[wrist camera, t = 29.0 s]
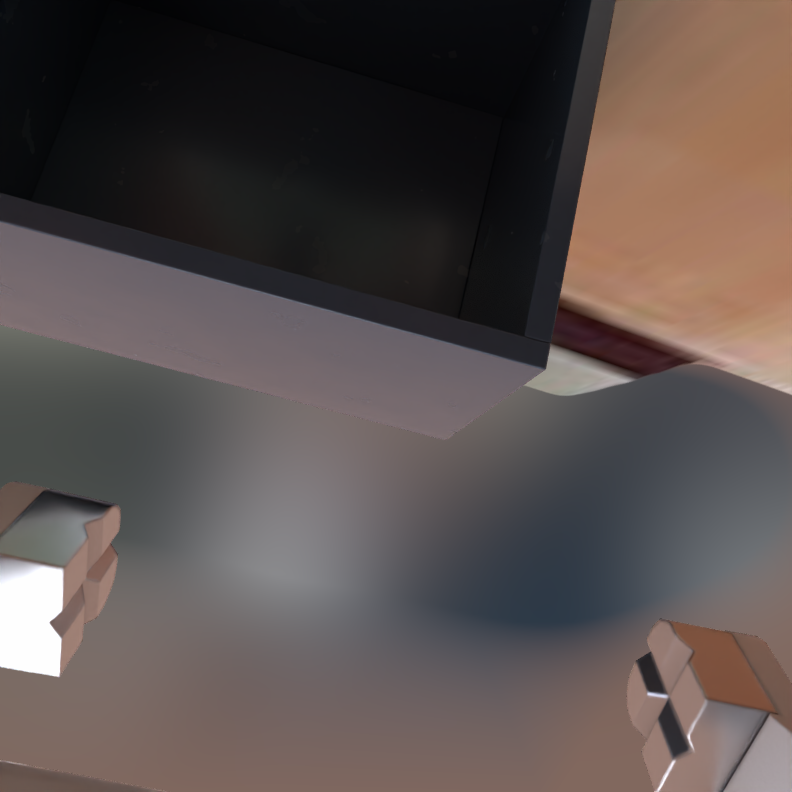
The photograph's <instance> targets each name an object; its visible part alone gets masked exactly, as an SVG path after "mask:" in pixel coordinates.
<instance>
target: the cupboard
mask: <svg viewBox="0 0 792 792" xmlns="http://www.w3.org/2000/svg"><path fill="white" fill-rule="evenodd" d="M615 2H616V0H0V325H3V326H7V327H11V328H15V329H18V330H22V331H26V332H30V333H34V334H38V335H41V336H46V337H49V338H53V339H57V340H61V341H65V342H68V343H72V344H76V345H80V346H84V347H88V348H92V349H96V350H100V351H103V352H107V353H111V354H115V355H119V356H123V357H126V358H130V359H135V360H138V361H142V362H146V363H150V364H153V365H157V366H161V367H165V368H169V369H173V370H176V371H180V372H184V373H188V374H192V375H196V376H200V377H203V378H207V379H211V380H215V381H219V382H223V383H227V384H231V385H235V386H238V387H242V388H246V389H250V390H254V391H257V392H261V393H266V394H269V395H273V396H277V397H281V398H285V399H288V400H292V401H296V402H300V403H304V404H308V405H312V406H315V407H319V408H323V409H328V410H331V411H335V412H339V413H342V414H346V415H351V416H354V417H358V418H362V419H366V420H369V421H373V422H377V423H381V424H385V425H389V426H392V427H396V428H400V429H404V430H408V431H412V432H416V433H419V434H423V435H427V436H431V437H435V438H439V439H443V440H446V439H448V438H449V437H451V436H452V435H454V434H455V433H457V432H458V431H459V430H461V429H462V428H463V427H465V426H466V425H468V424H469V423H471V422H472V421H473V420H475V419H476V418H478V417H479V416H481V415H482V414H483V413H485V412H486V411H488V410H489V409H490V408H492V407H493V406H495V405H496V404H497V403H499V402H500V401H502V400H503V399H504V398H506V397H507V396H509V395H510V394H512V393H513V392H514V391H516V390H517V389H519V388H520V387H522V386H523V385H524V384H526V383H527V382H529V381H530V380H531V379H533V378H534V377H536V376H537V375H538V374H540V373H541V372H543V371H544V370H545V369H546V366H547V361H548V355H549V350H550V343H551V341H552V335H553V330H554V325H555V319H556V314H557V309H558V304H559V298H560V293H561V288H562V282H563V277H564V272H565V266H566V261H567V256H568V251H569V245H570V240H571V235H572V229H573V224H574V219H575V213H576V208H577V203H578V198H579V192H580V187H581V182H582V176H583V171H584V166H585V161H586V155H587V150H588V145H589V139H590V134H591V129H592V123H593V118H594V113H595V108H596V102H597V97H598V92H599V86H600V81H601V76H602V70H603V65H604V60H605V55H606V49H607V44H608V39H609V33H610V28H611V23H612V18H613V12H614V7H615Z"/></svg>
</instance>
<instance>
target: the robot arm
mask: <svg viewBox="0 0 792 792" xmlns="http://www.w3.org/2000/svg"><path fill="white" fill-rule="evenodd" d="M120 514H121V510H120V508H119V506H118V505H117V504H114V503H110V502H106V501H102V500H97V499H93V498H89V497H84V496H80V495H75V494H71V493H67V492H62V491H59V490H54V489H47V488H45V487H40V486H36V485H31V484H26V483H22V482H17V481H15V482H11V483H7V484H6V485H5V486H3V487H2V488H1V489H0V667H3V668H9V669H15V670H21V671H27V672H33V673H39V674H45V675H51V676H57V677H60V675H61V674H62V672H63V670H64V669H65V668H66V666H67V664H68V663H69V661H70V660H71V658H72V657H73V655H74V653H75V652H76V650H77V649H78V647H79V646H80V644H81V642H82V640H83V625H84V624H86V623H88V622H90V621H92V620H94V619H96V618H97V617H98V615H99V613H100V612H101V610H102V608H103V607H104V605H105V603H106V601H107V598H108V596H109V593H110V591H111V588H112V585H113V582H114V578H115V573H116V568H117V558H118V554H117V552H116V551H115V549H114V548H113V546H112V544H111V541H112V540H113V538H114V537H115V536H116V534H117V533H118V531H119V530H120ZM647 641H648V644H649V647H650V650H651V652H650V653H648V654H646V655H645V656H643V657H641V658H640V659H638V660H636V662H635V664H634V667H633V669H632V671H631V674H630V676H629V679H628V687H627V696H626V697H627V706H628V712H629V716H630V719H631V722H632V725H633V727H634V728H635V729H636V730H637V731H638V732H639V733H640V734H641V735H642V736H643V737H644V738H645V739H646V740H647V741H646V743H645V745H644V747H643V749H642V751H641V753H642V756H643V759H644V762H645V765H646V768H647V771H648V774H649V777H650V779H651V783H652V786H653V788H654V791H655V792H792V683H791V682H790V680H789V678H788V677H787V675H786V674H785V672H784V670H783V669H782V667H781V666H780V664H779V662H778V661H777V659H776V658H775V656H774V654H773V653H772V651H771V650H770V648H769V647H768V645H767V643H766V642H764V641H763V640H762V639H760V638H759V637H758V636H753V635H747V634H742V633H736V632H731V631H720V630H715V629H709V628H705V627H700V626H695V625H689V624H685V623H680V622H675V621H670V620H665V619H659V620H658V621H657V622H656V623H655V624H654V625H653V627H652V629H651V631H650V633H649V635H648V637H647ZM0 792H168V791H163V790H158V789H152V788H147V787H142V786H136V785H131V784H125V783H120V782H115V781H110V780H105V779H99V778H94V777H89V776H83V775H78V774H72V773H67V772H62V771H57V770H51V769H46V768H41V767H35V766H30V765H25V764H19V763H14V762H8V761H3V760H0Z"/></svg>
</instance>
